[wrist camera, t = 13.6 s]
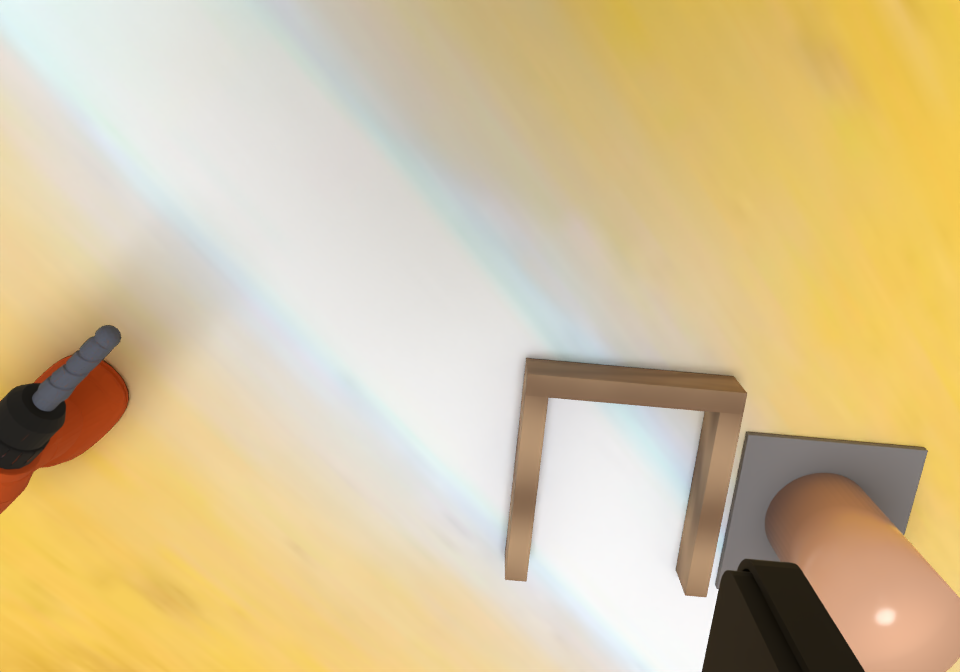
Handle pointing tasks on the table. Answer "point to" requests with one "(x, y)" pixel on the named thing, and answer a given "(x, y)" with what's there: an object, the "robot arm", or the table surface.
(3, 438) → the toy drill
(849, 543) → the pink mug
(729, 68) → the table surface
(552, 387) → the brown wooden u-shaped piece
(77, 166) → the table surface
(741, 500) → the mat
